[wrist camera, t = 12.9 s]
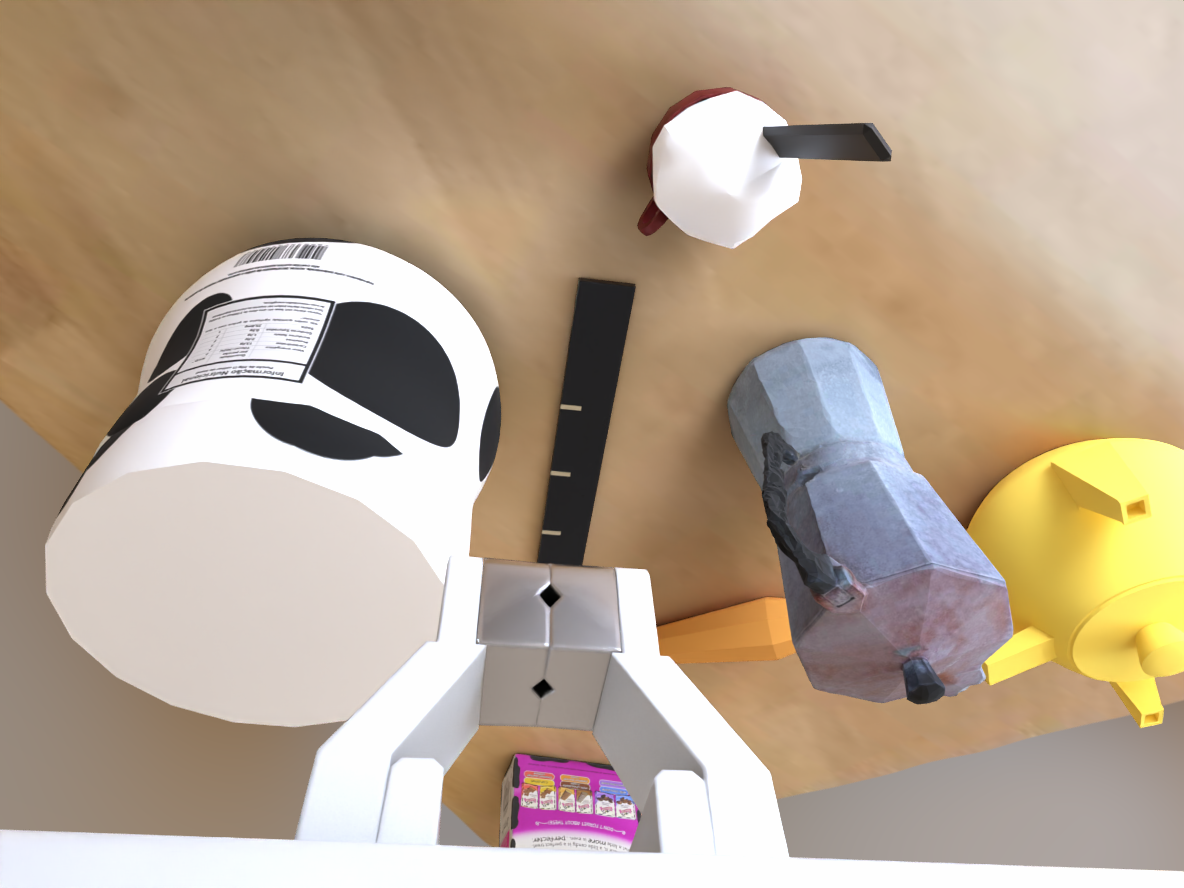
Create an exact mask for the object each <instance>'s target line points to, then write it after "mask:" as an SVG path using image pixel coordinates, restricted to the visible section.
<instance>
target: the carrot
mask: <svg viewBox="0 0 1184 888" xmlns="http://www.w3.org/2000/svg"><path fill="white" fill-rule="evenodd" d="M656 629H657V637H658V645H659V653H660V656H669V657H670V658H671V659H672V660H673V661H674V662H675V664H678V663H707V662H735V661H764V660H779V659H781V658H784V657H786V656H788V655H791V654H793V653H796V650H795V648H794V645H793V643H792V637H791V631H790V625H789V618H788V611H787V605H786V598H777V597H764V598H760V599H756V600H753V601H749V602H745V603H742V604H738V605H734V606H731V607H727V608H723V609H720V610H716V611H712V612H709V613H705V614H701V615H698V616H694V617H691V618H687V619H683V620H680V621H676V622H672V623H669V624H665V625H661V626H658V627H656Z"/></svg>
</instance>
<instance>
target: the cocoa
mask: <svg viewBox="0 0 1184 888" xmlns="http://www.w3.org/2000/svg"><path fill="white" fill-rule="evenodd" d="M891 153H892V150H891V149H890V147H889V146H888V144H887V143H886V142H885V140H884V139H883V137H882V136H881V134H880V133H879V132H878V130H877V129H876V127H875V126H874V124H873V123H854V124H824V125H793V126H787V123H786V121H785V120H784V119H783V118H781V117H780V116H779V115H778V114H776V113H775V112H774V111H773V110H771V109H770V108H769V107H768V106H767V105H766V104H765V103H764V102H763V101H761V100H760V99H758V98H756V97H753V96H751V95H748V94H746V93H743V92H740V91H738V90H735V89H733V88H730V87H724V88H716V89H708V90H699V91H695V92H693V93H692V94H690V95H689V96H687V97H686V98H684V99H683V100H681V101H679V102H678V103H676V104H675V105H673V106H672V107H670V108H669V110H668V111H667V113H666V114H665V116H664V117H663V119H662V120H661V122H660V123H659V125H658V126H657V128H656V129H655V131H654V132H653V134H652V138H651V144H650V150H649V156H648V163H647V173H648V177H649V180H650V183H651V187H652V190H653V193H654V196H653V198H652V199H651V200H650V202H649V204H648V205H647V207H646V208H645V210H644V212H643V214H642V215H641V217H640V219H639V222H638V225H637V226H638V229H639V230H640V232H641V233H643V234H644V235H645V236H648V235H651V234H653V233H654V232H656V231H657V230H658V229H659V228H660V227H661V226H662V225H663V224H664V223H665V222H666V221H667V220H668V218H669V219H670V220H671V221H672V222H673V223H674V224H675V225H676V226H677V227H679V228H680V229H681V230H682V231H683V232H685V233H686V234H687V235H689V236H692V237H695V238H698V239H700V240H703V241H706V242H710V243H713V244H717V245H720V246H724V247H727V248H731V249H734V248H735V247H737V246H738V245H740V244H741V243H743V242H744V241H746V240H747V239H749V238H751V237H753V236H754V235H755V234H756V233H757V232H758V231H759V230H760V229H761V228H763V227H764V226H765V225H766V224H767V223H768V222H769V221H770V220H772V219H773V218H774V217H776V216H777V215H779V214H780V213H782V212H783V211H785V210H786V209H788V208H789V207H791V206H792V205H794V204H795V203H797V202H798V199H799V193H800V187H801V180H802V177H801V172H800V167H799V162H798V158H799V159H827V160H855V161H891ZM656 212H657V213H656Z"/></svg>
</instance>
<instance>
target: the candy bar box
mask: <svg viewBox="0 0 1184 888" xmlns="http://www.w3.org/2000/svg"><path fill="white" fill-rule="evenodd" d="M640 818H641V812H640V811H639V809H638V808H637V806H636V804H635V803H634V801H633V799H632V798H631V796H630V795H629V793H628V791H627V790H626V788H625V786H624V785H623V783H622V781H621V780H620V778H619V777H618V775H617V773H616V772H615V770H614V768H613V767H612V766H611V765H603V764H596V763H587V762H580V761H572V760H564V759H557V758H548V757H541V756H533V755H525V754H515V755H514V757H513V759H512V761H511V764H510V766H509V768H508V770H507V772H506V774H505V776H504V779H503V782H502V790H501V815H500V833H499V847H506V848H534V849H562V850H590V851H619V852H629V850H630V847H631V844H632V841H633V839H634V836H635V833H636V830H637V827H638V824H639V821H640Z"/></svg>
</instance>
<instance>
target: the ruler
mask: <svg viewBox="0 0 1184 888" xmlns="http://www.w3.org/2000/svg"><path fill="white" fill-rule="evenodd" d="M635 288H636V287H635V284H630V283H622V282H613V281H604V280H596V279H587V278H579V280H578V287H577V294H576V300H575V307H574V314H573V321H572V328H571V335H570V341H569V348H568V355H567V362H566V369H565V376H564V382H563V389H562V396H561V403H560V410H559V417H558V424H557V430H556V437H555V444H554V451H553V458H552V465H551V471H550V478H549V485H548V492H547V499H546V506H545V513H544V519H543V526H542V533H541V540H540V547H539V554H538V560H537V563H545V564H549V563H552V564H568V565H582V563H583V558H584V553H585V547H586V542H587V537H588V532H589V527H590V522H591V516H592V511H593V506H594V501H595V496H596V490H597V485H598V480H599V475H600V470H601V464H602V459H603V454H604V449H605V444H606V439H607V433H608V428H609V423H610V418H611V413H612V407H613V402H614V397H615V392H616V387H617V382H618V376H619V371H620V366H621V361H622V356H623V350H624V345H625V340H626V335H627V330H628V325H629V319H630V314H631V309H632V304H633V299H634V293H635Z"/></svg>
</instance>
